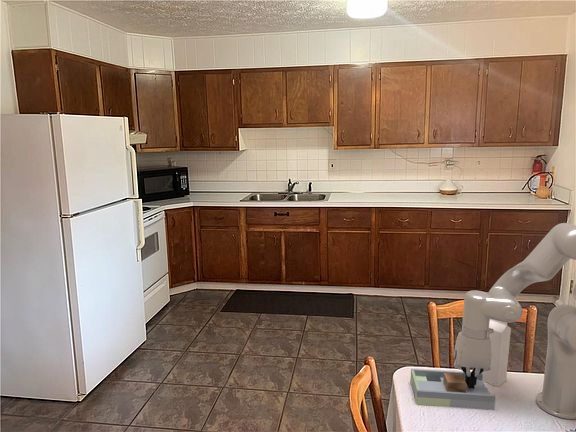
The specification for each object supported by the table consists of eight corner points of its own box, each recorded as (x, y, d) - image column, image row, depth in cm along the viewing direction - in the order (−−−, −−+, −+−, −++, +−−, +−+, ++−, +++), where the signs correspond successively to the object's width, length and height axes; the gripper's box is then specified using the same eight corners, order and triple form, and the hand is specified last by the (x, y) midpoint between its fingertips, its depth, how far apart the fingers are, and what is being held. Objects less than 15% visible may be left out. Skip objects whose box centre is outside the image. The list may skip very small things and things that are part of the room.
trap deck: (480, 385, 143) (482, 373, 142) (494, 409, 130) (495, 396, 130) (410, 381, 146) (411, 368, 145) (416, 404, 133) (417, 391, 132)
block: (461, 383, 140) (461, 373, 139) (465, 393, 134) (466, 383, 134) (443, 382, 140) (443, 372, 140) (447, 392, 135) (447, 382, 134)
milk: (497, 387, 142) (502, 323, 138) (479, 379, 147) (484, 317, 143) (506, 381, 146) (512, 319, 142) (488, 373, 151) (494, 313, 147)
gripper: (496, 327, 136) (491, 381, 139) (446, 324, 138) (442, 378, 141) (505, 338, 129) (499, 395, 132) (452, 335, 131) (448, 391, 134)
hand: (470, 386), depth 137 cm, fingers closed
